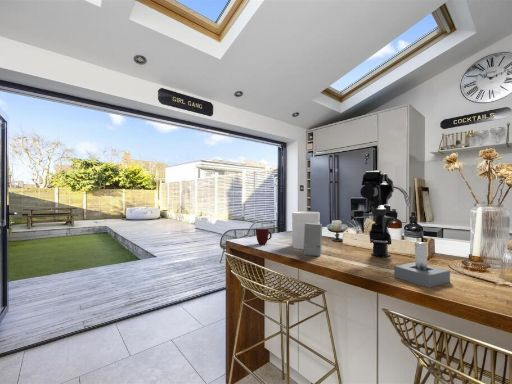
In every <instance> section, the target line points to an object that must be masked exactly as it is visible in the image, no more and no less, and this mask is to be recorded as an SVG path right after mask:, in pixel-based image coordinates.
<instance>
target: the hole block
mask: <svg viewBox="0 0 512 384" xmlns="http://www.w3.org/2000/svg"><path fill="white" fill-rule="evenodd" d="M393 267H394V275H393V276H394V278H397V279H400V280H403V281H405V282H410V283H413V284H416V285H419V286H422V287H425V288H428V289H429V288H434V287H437V286H441V285H444V284H448V283H451V270H449V269H445V268H441V267H438V266H437V267H436V266H433V265H429V264H427V271H421V270H418V269H415V261H413V262H407V263H403V264H398V265H394V266H393Z"/></svg>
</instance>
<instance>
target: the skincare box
mask: <svg viewBox="0 0 512 384" xmlns="http://www.w3.org/2000/svg"><path fill="white" fill-rule="evenodd" d="M322 238H323V224H322V223H320V224H316V223H305V231H304V249H303V255H304V256H313V257H315V256H316V257H320V256H321V255H322V248H323V247H322V243H323V239H322Z"/></svg>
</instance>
